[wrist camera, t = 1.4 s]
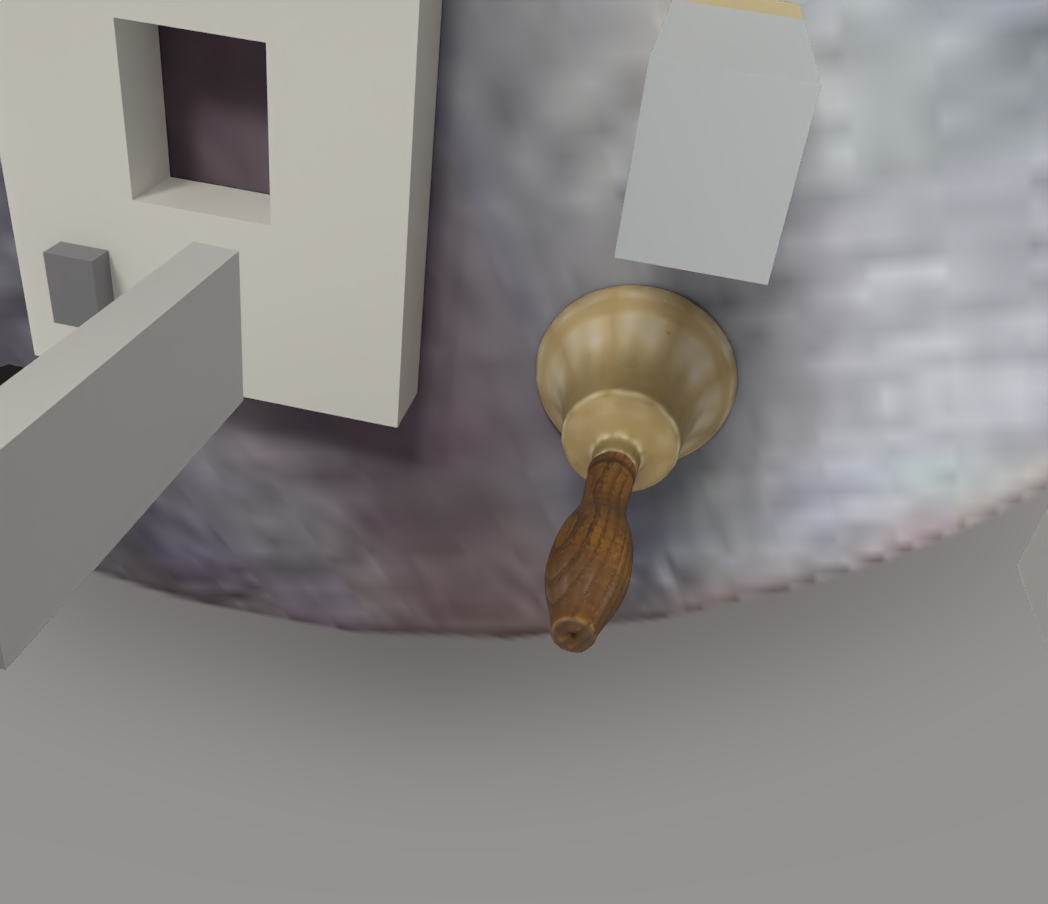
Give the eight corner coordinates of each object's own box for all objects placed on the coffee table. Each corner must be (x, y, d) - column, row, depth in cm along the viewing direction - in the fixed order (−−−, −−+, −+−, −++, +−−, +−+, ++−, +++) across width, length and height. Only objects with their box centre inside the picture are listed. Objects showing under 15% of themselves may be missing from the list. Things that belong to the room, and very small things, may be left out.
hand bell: (530, 447, 44) (437, 717, 31) (542, 271, 40) (438, 499, 26) (720, 475, 43) (707, 767, 30) (754, 297, 39) (757, 548, 25)
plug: (678, -15, 33) (649, 57, 23) (799, 4, 33) (821, 84, 23) (651, 136, 36) (614, 257, 26) (762, 154, 36) (767, 284, 26)
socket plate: (-14, -273, 33) (-104, -284, 30) (455, -208, 32) (419, -211, 28) (74, 325, 45) (17, 367, 42) (417, 392, 44) (388, 443, 40)
